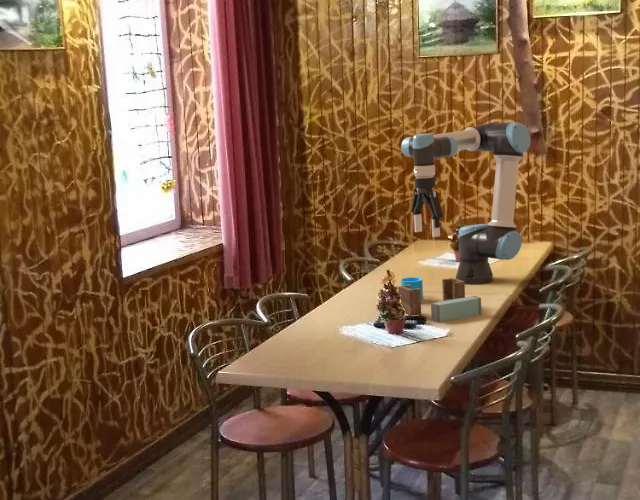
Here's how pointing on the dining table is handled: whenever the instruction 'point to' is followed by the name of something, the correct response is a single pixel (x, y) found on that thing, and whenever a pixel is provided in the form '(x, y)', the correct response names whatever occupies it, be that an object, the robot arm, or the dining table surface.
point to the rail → (456, 309)
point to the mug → (413, 283)
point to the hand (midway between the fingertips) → (427, 234)
